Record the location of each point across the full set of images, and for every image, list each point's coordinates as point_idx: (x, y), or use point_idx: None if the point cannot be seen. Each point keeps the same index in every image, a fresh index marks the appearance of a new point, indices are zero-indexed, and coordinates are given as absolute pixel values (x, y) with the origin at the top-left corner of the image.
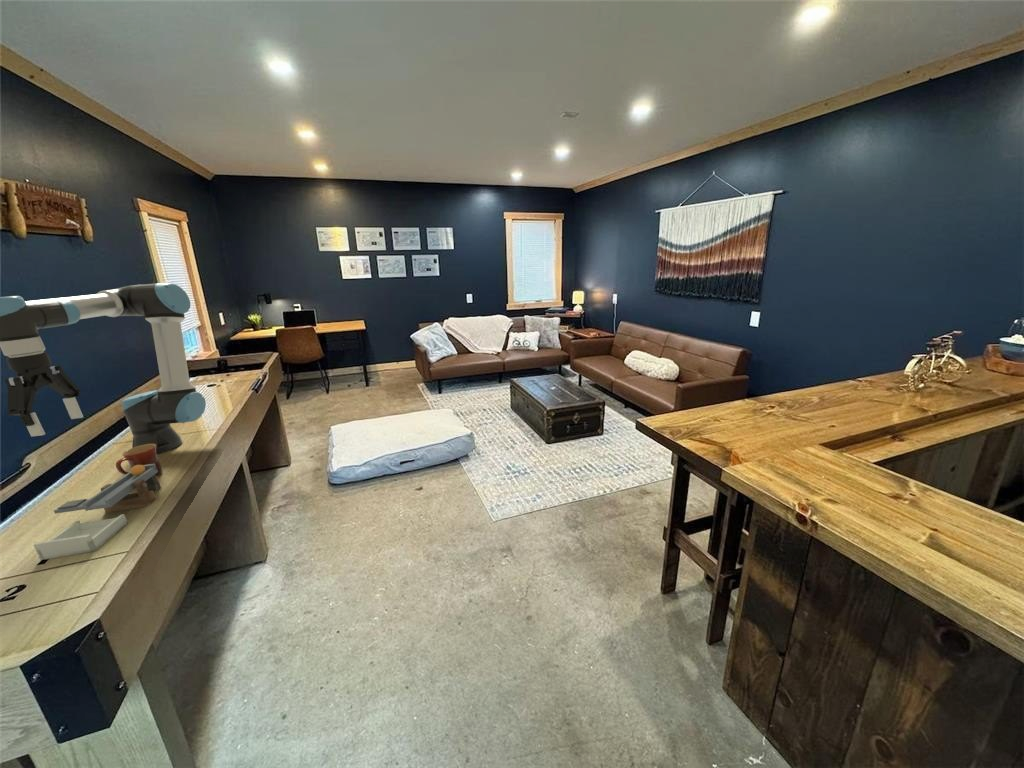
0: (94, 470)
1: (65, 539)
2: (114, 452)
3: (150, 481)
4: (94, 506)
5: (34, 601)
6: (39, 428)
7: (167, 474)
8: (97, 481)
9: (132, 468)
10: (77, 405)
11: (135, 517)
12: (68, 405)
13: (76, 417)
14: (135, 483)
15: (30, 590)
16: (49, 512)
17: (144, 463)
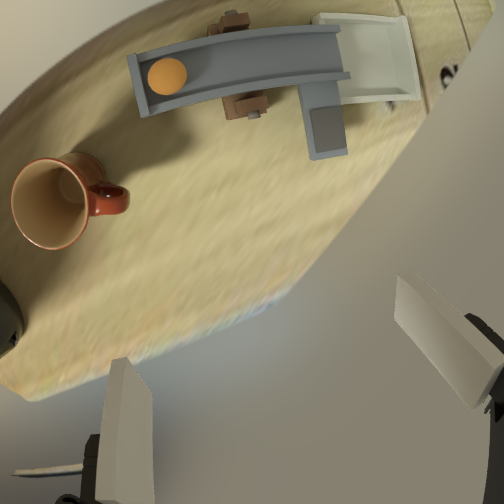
0: (85, 353)
1: (412, 50)
2: (32, 381)
3: None
4: (340, 58)
5: (458, 35)
6: (436, 293)
7: (74, 130)
8: (118, 299)
9: (179, 77)
10: (107, 434)
11: (288, 18)
12: (144, 465)
13: (138, 380)
14: (248, 19)
15: (447, 55)
16: (246, 264)
17: (81, 165)
